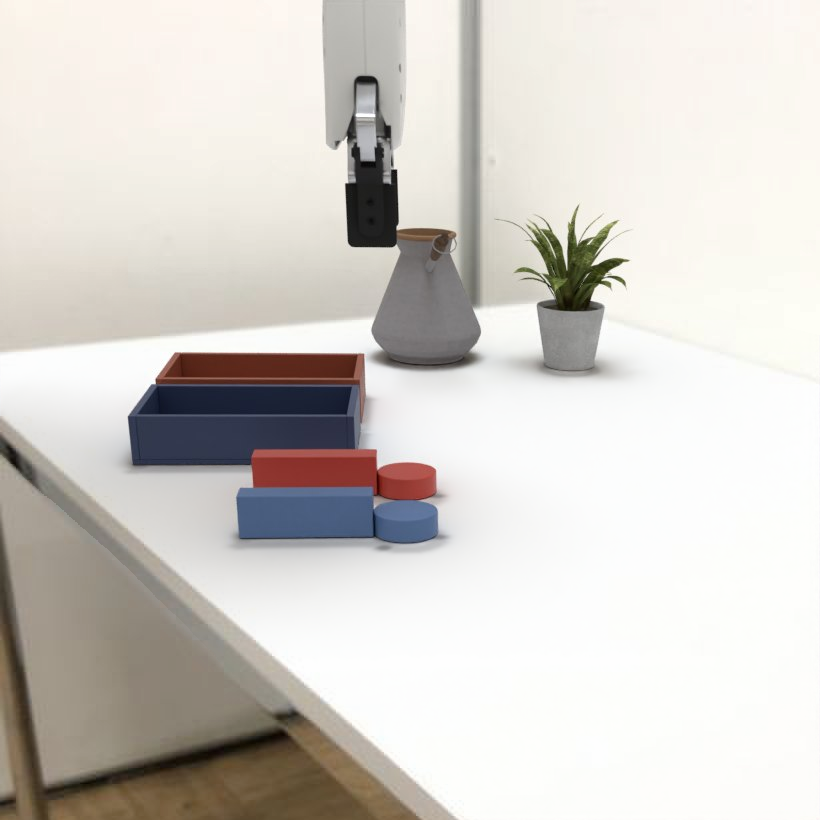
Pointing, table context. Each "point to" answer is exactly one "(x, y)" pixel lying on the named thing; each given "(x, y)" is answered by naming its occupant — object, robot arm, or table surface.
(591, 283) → the house plant
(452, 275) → the coffee pot
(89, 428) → the table surface
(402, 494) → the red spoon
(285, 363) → the red bin
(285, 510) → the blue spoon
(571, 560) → the table surface
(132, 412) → the blue bin
